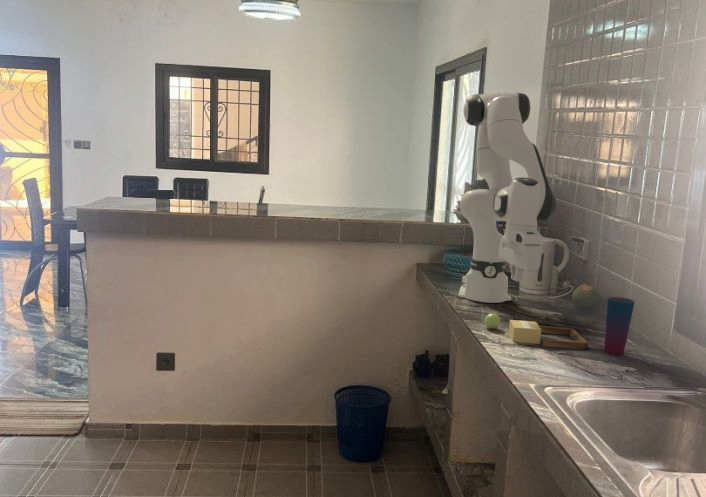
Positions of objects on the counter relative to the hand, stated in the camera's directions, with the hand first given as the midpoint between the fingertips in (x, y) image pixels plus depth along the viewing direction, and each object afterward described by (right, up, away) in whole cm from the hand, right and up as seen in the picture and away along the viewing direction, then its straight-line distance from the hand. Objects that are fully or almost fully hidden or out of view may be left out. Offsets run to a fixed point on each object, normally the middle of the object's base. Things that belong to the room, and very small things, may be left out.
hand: (515, 280), depth 189 cm
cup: (+24, -19, -12) cm, 33 cm away
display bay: (+11, -17, -4) cm, 20 cm away
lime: (-6, -15, +3) cm, 16 cm away
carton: (+1, -17, -5) cm, 17 cm away
